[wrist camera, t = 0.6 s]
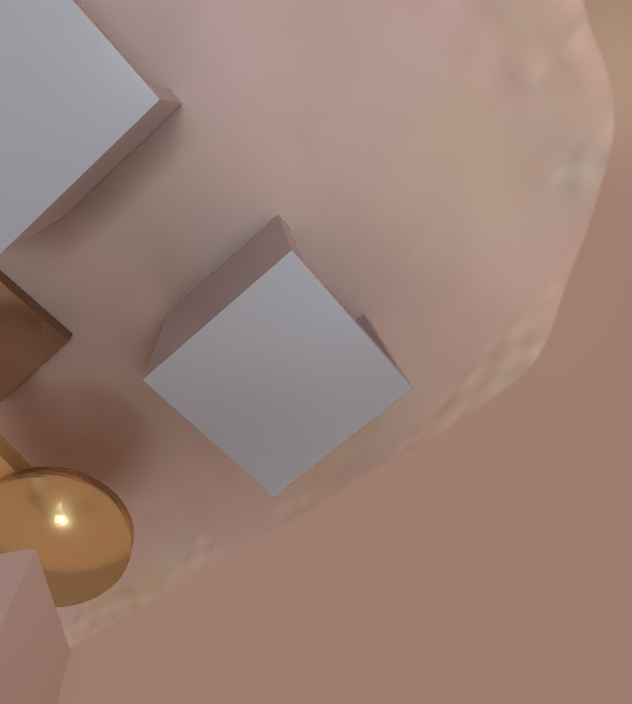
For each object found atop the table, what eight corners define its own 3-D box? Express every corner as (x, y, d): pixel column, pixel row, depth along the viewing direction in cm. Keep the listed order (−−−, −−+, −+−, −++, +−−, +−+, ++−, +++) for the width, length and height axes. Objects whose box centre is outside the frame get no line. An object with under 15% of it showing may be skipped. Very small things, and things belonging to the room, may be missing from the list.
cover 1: (-79, 78, 28) (-213, 63, 20) (45, -55, 27) (-43, -132, 18) (64, 216, 31) (0, 253, 23) (182, 103, 30) (159, 99, 21)
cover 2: (166, 314, 34) (142, 380, 25) (278, 214, 32) (291, 250, 24) (266, 410, 37) (273, 497, 29) (372, 323, 35) (412, 387, 27)
